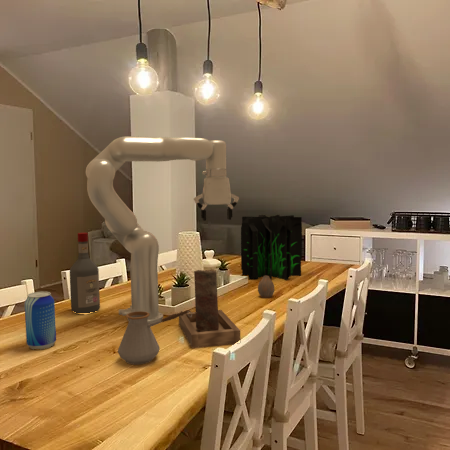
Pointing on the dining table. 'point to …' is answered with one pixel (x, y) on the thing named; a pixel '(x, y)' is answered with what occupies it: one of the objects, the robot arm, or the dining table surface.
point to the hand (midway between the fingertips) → (216, 219)
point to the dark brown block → (206, 300)
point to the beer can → (40, 320)
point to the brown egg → (266, 287)
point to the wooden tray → (197, 338)
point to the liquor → (84, 280)
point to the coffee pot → (141, 338)
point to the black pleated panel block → (271, 246)
